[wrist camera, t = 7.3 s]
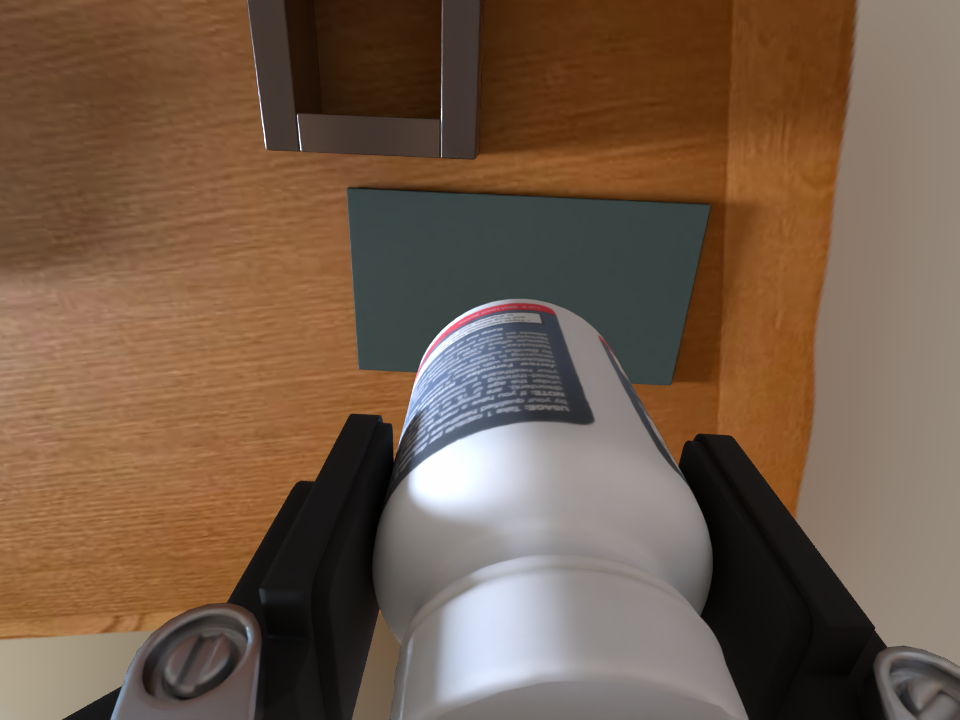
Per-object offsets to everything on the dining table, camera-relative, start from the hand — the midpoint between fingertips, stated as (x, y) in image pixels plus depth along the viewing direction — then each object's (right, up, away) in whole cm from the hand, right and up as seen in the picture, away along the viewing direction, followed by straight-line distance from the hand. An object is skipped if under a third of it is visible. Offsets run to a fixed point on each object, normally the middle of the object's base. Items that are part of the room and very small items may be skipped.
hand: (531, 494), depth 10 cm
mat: (+1, +6, +18) cm, 19 cm away
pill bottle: (0, +2, +4) cm, 4 cm away
